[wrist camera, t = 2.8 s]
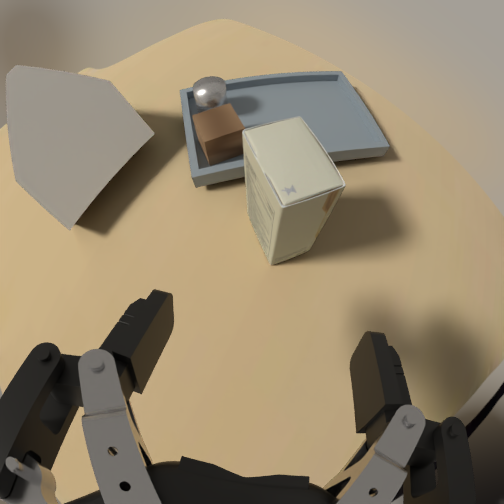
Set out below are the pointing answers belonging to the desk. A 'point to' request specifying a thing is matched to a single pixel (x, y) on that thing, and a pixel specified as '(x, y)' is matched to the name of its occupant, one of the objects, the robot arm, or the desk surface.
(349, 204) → the desk surface
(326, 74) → the blue-grey serving tray
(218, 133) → the walnut block
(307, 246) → the skincare box
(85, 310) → the desk surface
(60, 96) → the slotted wedge
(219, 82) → the chrome dome knob
